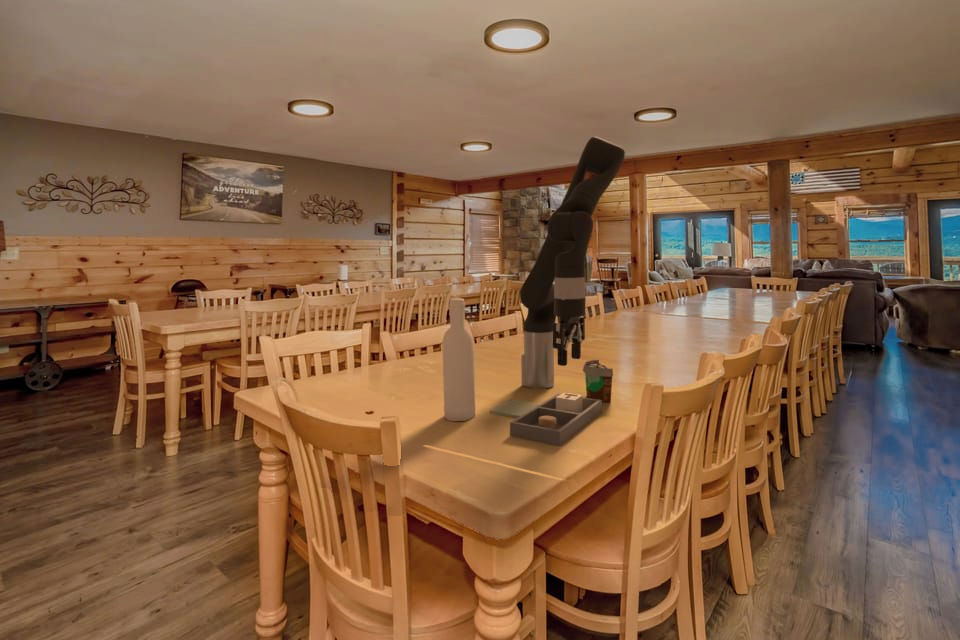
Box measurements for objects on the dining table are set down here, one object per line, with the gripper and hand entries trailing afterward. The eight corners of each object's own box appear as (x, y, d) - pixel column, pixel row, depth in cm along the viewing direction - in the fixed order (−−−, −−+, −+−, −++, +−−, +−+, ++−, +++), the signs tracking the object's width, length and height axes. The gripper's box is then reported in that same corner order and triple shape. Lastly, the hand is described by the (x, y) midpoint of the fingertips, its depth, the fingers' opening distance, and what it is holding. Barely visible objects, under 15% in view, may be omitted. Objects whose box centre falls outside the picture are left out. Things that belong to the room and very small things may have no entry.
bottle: (481, 418, 123) (479, 298, 119) (454, 424, 119) (450, 301, 115) (465, 409, 130) (462, 297, 126) (438, 415, 126) (435, 298, 122)
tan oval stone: (535, 432, 111) (535, 419, 111) (543, 427, 115) (543, 414, 114) (551, 435, 109) (551, 422, 109) (559, 430, 112) (559, 417, 112)
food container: (577, 393, 143) (577, 360, 142) (597, 392, 143) (598, 359, 142) (590, 406, 131) (590, 369, 129) (612, 405, 131) (613, 368, 130)
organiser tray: (510, 437, 110) (509, 422, 109) (558, 406, 131) (558, 393, 131) (559, 447, 103) (559, 431, 103) (601, 413, 125) (601, 400, 124)
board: (489, 414, 126) (489, 410, 126) (510, 403, 135) (510, 399, 135) (527, 421, 120) (527, 417, 120) (547, 409, 129) (547, 405, 129)
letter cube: (555, 416, 122) (555, 396, 121) (563, 411, 126) (563, 391, 125) (574, 420, 119) (574, 399, 118) (582, 414, 123) (582, 394, 122)
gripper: (566, 293, 126) (566, 355, 128) (542, 298, 115) (542, 366, 117) (594, 294, 122) (594, 358, 124) (572, 299, 110) (572, 369, 113)
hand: (569, 361), depth 120 cm, fingers open, 8 cm apart
